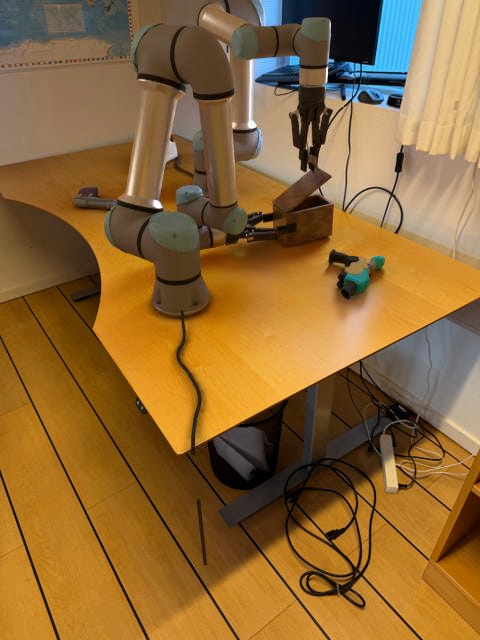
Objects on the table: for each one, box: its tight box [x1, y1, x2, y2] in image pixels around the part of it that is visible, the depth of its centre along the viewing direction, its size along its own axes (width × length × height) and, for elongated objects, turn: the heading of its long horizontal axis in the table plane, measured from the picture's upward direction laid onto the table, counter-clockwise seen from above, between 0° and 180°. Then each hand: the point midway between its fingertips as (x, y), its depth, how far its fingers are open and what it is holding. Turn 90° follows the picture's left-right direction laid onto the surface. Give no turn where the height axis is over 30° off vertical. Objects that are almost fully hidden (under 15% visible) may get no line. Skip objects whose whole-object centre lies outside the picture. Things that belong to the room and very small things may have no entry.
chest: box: [272, 193, 335, 248], centre depth 153 cm, size 17×10×11 cm, turn 112°
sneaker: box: [166, 134, 178, 163], centre depth 214 cm, size 10×29×12 cm, turn 163°
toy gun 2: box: [328, 248, 386, 301], centre depth 133 cm, size 4×26×15 cm
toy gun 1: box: [71, 186, 118, 210], centre depth 180 cm, size 4×19×15 cm
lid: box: [271, 152, 333, 215], centre depth 144 cm, size 18×10×9 cm
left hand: (288, 221), depth 151 cm, fingers closed on chest, 10 cm apart
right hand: (307, 169), depth 144 cm, fingers closed on lid, 2 cm apart
